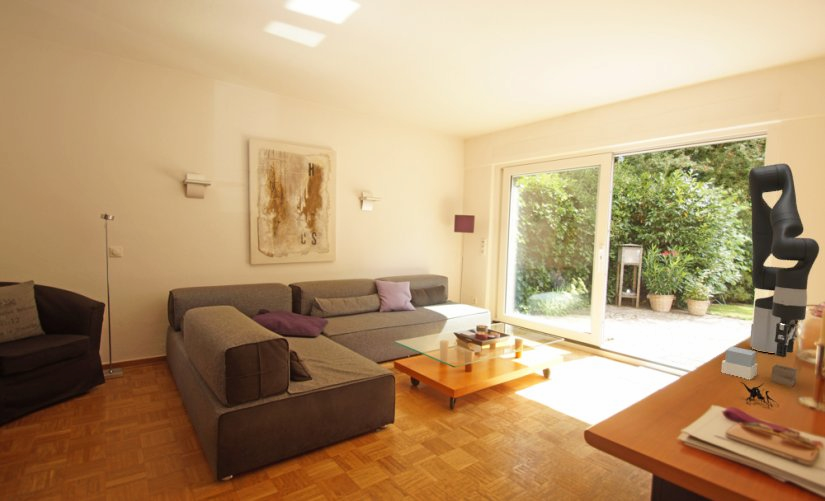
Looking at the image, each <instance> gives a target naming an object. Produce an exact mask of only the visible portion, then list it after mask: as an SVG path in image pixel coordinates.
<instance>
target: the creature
mask: <svg viewBox="0 0 825 501" xmlns="http://www.w3.org/2000/svg"><path fill="white" fill-rule="evenodd" d="M740 383H741V384H742V385H744V387H745V390H747V391H748V393H749V397H747V398H746V400H745V401H746V403H747V404H748V405H749V406H751V404H750V403H749V402H751V398H752V399H753V400H754V399H755V398H757V399H758V401H759V400H760V402H761V403H764V404H765V405H767V407H768V408H770V406H771V408H773V404H772V402H774V403H776V404H777V406H778V407H777V408H779V407H780V405H779V403H777V401H775V400H773V399H772V398H771V397H770V396H769V395H768V393H770V391H769V390H765V388H764V389H762V390H760V389H759V388H760V387H762V386H763V385H764V384H765V383H764V382H763V383H762V384H760V385H757V386H754V387H752V388H750V387H748V386H747V384H745V383H744V382H743V381H740ZM764 391H765V396H763V393H764ZM765 398H766V399H765ZM748 401H749V402H748ZM766 401H767V402H766ZM770 401H772V402H770ZM752 406H755V403H753V405H752Z"/></svg>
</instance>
